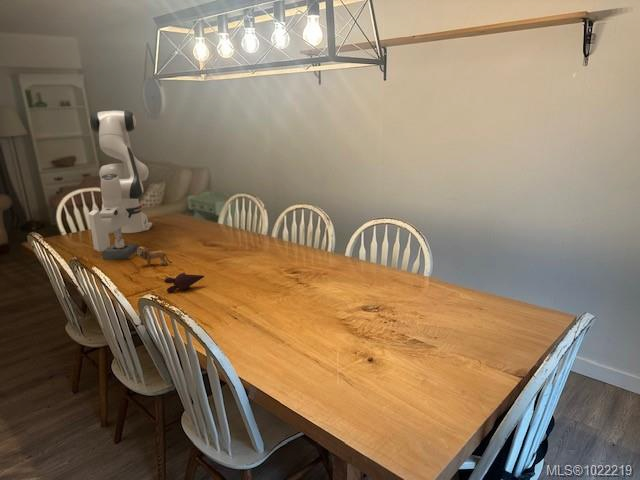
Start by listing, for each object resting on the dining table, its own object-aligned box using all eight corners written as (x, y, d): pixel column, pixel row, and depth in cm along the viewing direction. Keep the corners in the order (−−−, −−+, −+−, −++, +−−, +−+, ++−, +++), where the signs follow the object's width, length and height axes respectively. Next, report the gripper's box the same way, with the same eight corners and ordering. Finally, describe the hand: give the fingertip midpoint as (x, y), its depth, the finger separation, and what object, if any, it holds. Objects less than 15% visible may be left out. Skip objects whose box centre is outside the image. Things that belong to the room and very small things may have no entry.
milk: (99, 252, 227) (91, 209, 221) (94, 249, 231) (86, 207, 225) (111, 249, 232) (104, 206, 225) (106, 247, 236) (99, 205, 229)
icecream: (200, 267, 184) (162, 276, 178) (203, 268, 177) (164, 278, 171) (204, 283, 184) (166, 293, 178) (207, 285, 177) (168, 296, 172)
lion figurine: (137, 268, 203) (134, 248, 201) (140, 264, 208) (137, 245, 206) (171, 265, 205) (169, 246, 203) (173, 261, 210) (171, 243, 208)
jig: (114, 251, 227) (113, 244, 226) (140, 251, 227) (139, 243, 226) (103, 259, 216) (102, 251, 215) (130, 259, 216) (128, 250, 215)
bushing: (119, 254, 224) (116, 238, 221) (127, 253, 224) (124, 238, 221) (115, 256, 220) (113, 240, 218) (123, 256, 220) (121, 240, 218)
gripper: (117, 204, 225) (121, 231, 229) (97, 214, 205) (102, 243, 209) (130, 204, 225) (133, 231, 229) (111, 213, 205) (115, 243, 209)
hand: (118, 237), depth 219 cm, fingers closed
